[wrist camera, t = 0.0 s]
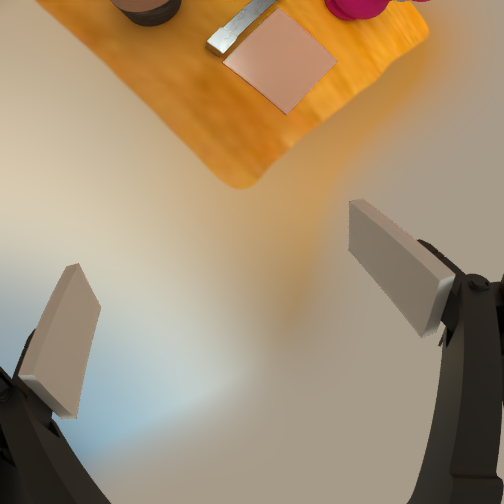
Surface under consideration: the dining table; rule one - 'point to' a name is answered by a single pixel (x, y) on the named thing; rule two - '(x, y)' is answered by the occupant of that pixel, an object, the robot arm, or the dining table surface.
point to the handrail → (236, 26)
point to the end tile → (281, 60)
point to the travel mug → (148, 10)
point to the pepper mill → (359, 8)
